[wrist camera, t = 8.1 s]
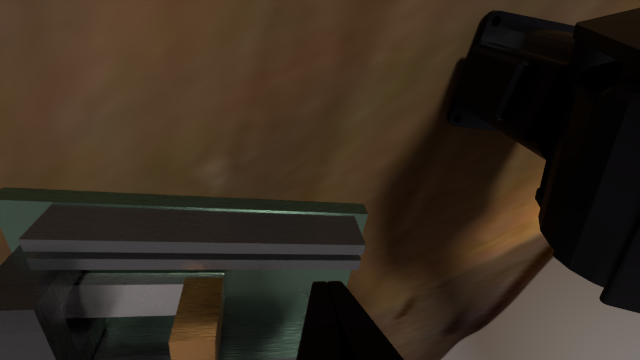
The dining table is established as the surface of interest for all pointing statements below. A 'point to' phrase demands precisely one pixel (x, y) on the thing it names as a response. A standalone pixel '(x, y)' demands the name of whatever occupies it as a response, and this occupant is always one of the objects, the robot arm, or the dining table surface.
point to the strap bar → (157, 305)
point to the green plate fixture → (167, 267)
